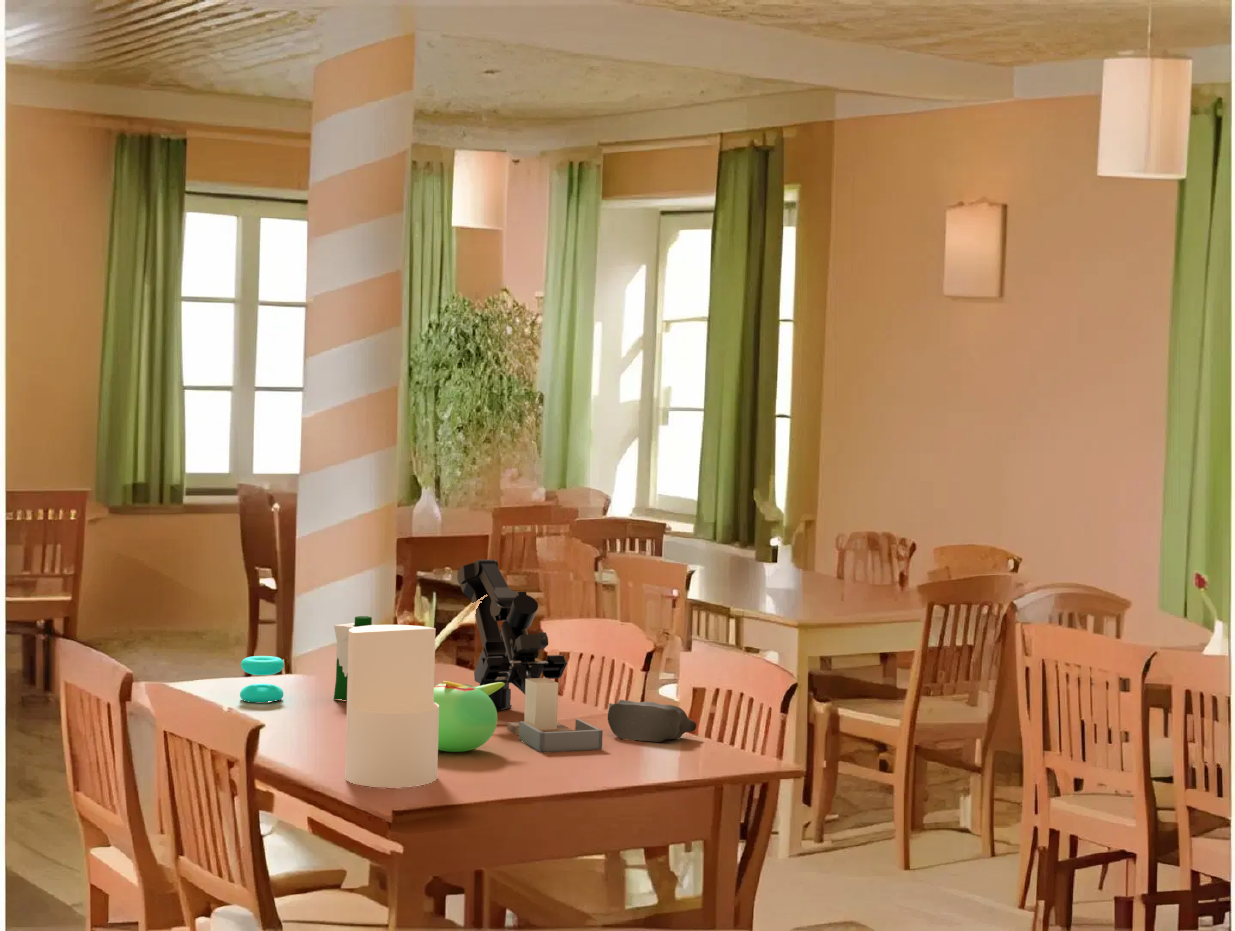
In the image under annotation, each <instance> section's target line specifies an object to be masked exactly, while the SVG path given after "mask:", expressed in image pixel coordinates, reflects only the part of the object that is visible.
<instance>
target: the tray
mask: <svg viewBox="0 0 1235 931" xmlns="http://www.w3.org/2000/svg"><path fill="white" fill-rule="evenodd" d="M519 722H520V723H519V736H518V741H520V742H521V741H523V742H524V743H523V742H522V743H523V744H525V743H526V744H527V746H528V745H529V746H528V747H530V748H532V749H533V748H534V750H535V749H536V750H535V751H537V752H539V753H541V754H542V753H544V752H545V753H561V752H563V751H564V752H579V751H598V749H602V750H603V732H604V731H603V730H602V729H600V728H599V727H596V726H594V725H593V724H590V723H589V722H586V721H584V720H582V719H580V718H576V719H575V728H574V730H573V731H560V732H542V731H540V730H538V729H536V728H534V727H533V726H531V725H529V724H527V723H525V722H524V720H520V721H519ZM526 744H525V745H526ZM564 752H563V753H564ZM545 753H544V754H545Z"/></svg>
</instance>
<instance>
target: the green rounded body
mask: <svg viewBox="0 0 1235 931" xmlns="http://www.w3.org/2000/svg"><path fill="white" fill-rule="evenodd" d="M504 685H505V683H503V682H497V683H491V684H486V685H482V686H480V685H478V686H477V685H476V686H473V685H470V684H468V683H467V684H466V683H457V682H454V681H448V680H442V683H438V684H437V685H434V703H437V704H438V705H439V732H438V751H442V752H447V753H462V752H468V751H473V750H475V749H478V748H480V747H481V746H483V745H484V744H486V743H487V742H488V741H489V740H490V738H492V736H493V734H494V733H495V730H496V728H497V725H498V712H497V710H496V707H495V705H494V703H493V701H492V700H491V699H490V697H489V695H490V694H492V693H494V692H495V691H497V690H499V689H500V688H502V687H503V686H504Z"/></svg>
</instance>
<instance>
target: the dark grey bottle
mask: <svg viewBox="0 0 1235 931" xmlns="http://www.w3.org/2000/svg"><path fill="white" fill-rule="evenodd" d="M607 722H608V726H609V728H610V730H611V732H612V733H613V734H614V735H615V736H616V737H618V738H619V739H621V738H622V739H621V740H624V739H628V740H627V741H632V740H639V741H638V742H653V743H654V742H655V743H660V742H663V741H667V740H666V739H675V740H679V739H678V738H680V737H681V738H682V736H683V735H684V734H685V733H691V732H692V733H693V732H694V731H695V730H696V729H697V723H696V722H695V721H694V720H693V719H691V718H689V717H688V714H687V713H686V712H685V710H683V708H681V707H679V706H676V705H672V704H661V703H658V702H654V701H638V702H637V701H632V700H624V699H620V700H619V701H618V702H617V703H609V704H608V711H607ZM681 738H680V739H681Z"/></svg>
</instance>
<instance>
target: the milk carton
mask: <svg viewBox="0 0 1235 931" xmlns="http://www.w3.org/2000/svg"><path fill="white" fill-rule="evenodd" d="M372 619H373V618H372V616H368V615H367V616H366V615H364V616H363V615H360V616H354V622H351V623H350V622H349V623H343V624H342V623H340V624H334V625H333V628H334V633H335V639H336V663H335V666H336V667H335V668H336V670H335V686H334V695H333V700H334V699H342V700H346V701H347V680H348V642H349V629H351V628H354V627H359V626H368V625H374V624H373V623H372Z"/></svg>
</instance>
